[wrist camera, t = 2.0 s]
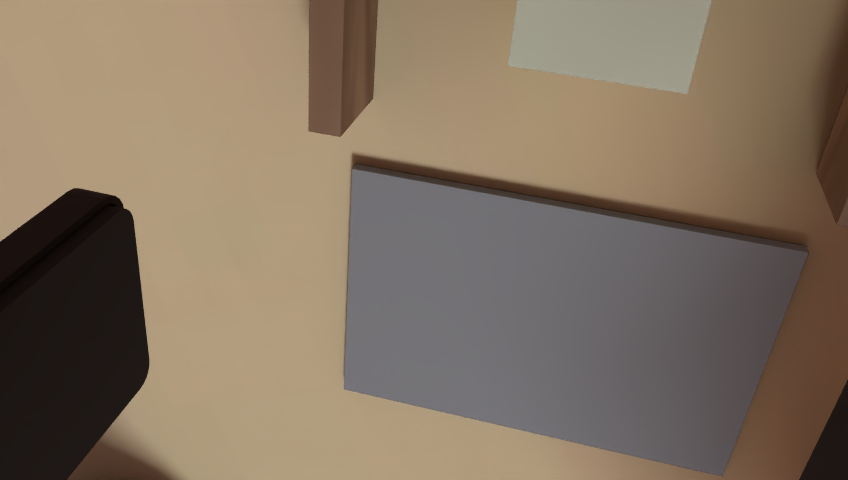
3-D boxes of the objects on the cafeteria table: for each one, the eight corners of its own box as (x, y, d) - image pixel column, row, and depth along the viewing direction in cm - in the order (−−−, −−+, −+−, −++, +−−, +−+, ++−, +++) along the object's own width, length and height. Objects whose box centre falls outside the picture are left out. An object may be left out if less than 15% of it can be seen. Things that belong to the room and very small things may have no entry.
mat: (806, 246, 31) (808, 252, 31) (721, 468, 37) (722, 476, 37) (355, 164, 34) (352, 168, 33) (347, 382, 40) (343, 389, 40)
